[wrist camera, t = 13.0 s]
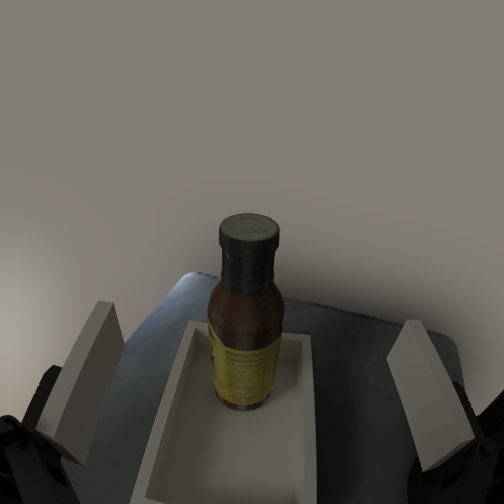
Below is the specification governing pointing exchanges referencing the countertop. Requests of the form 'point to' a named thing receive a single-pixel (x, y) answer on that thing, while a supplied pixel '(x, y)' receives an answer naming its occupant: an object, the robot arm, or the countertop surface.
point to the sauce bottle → (245, 313)
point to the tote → (232, 434)
